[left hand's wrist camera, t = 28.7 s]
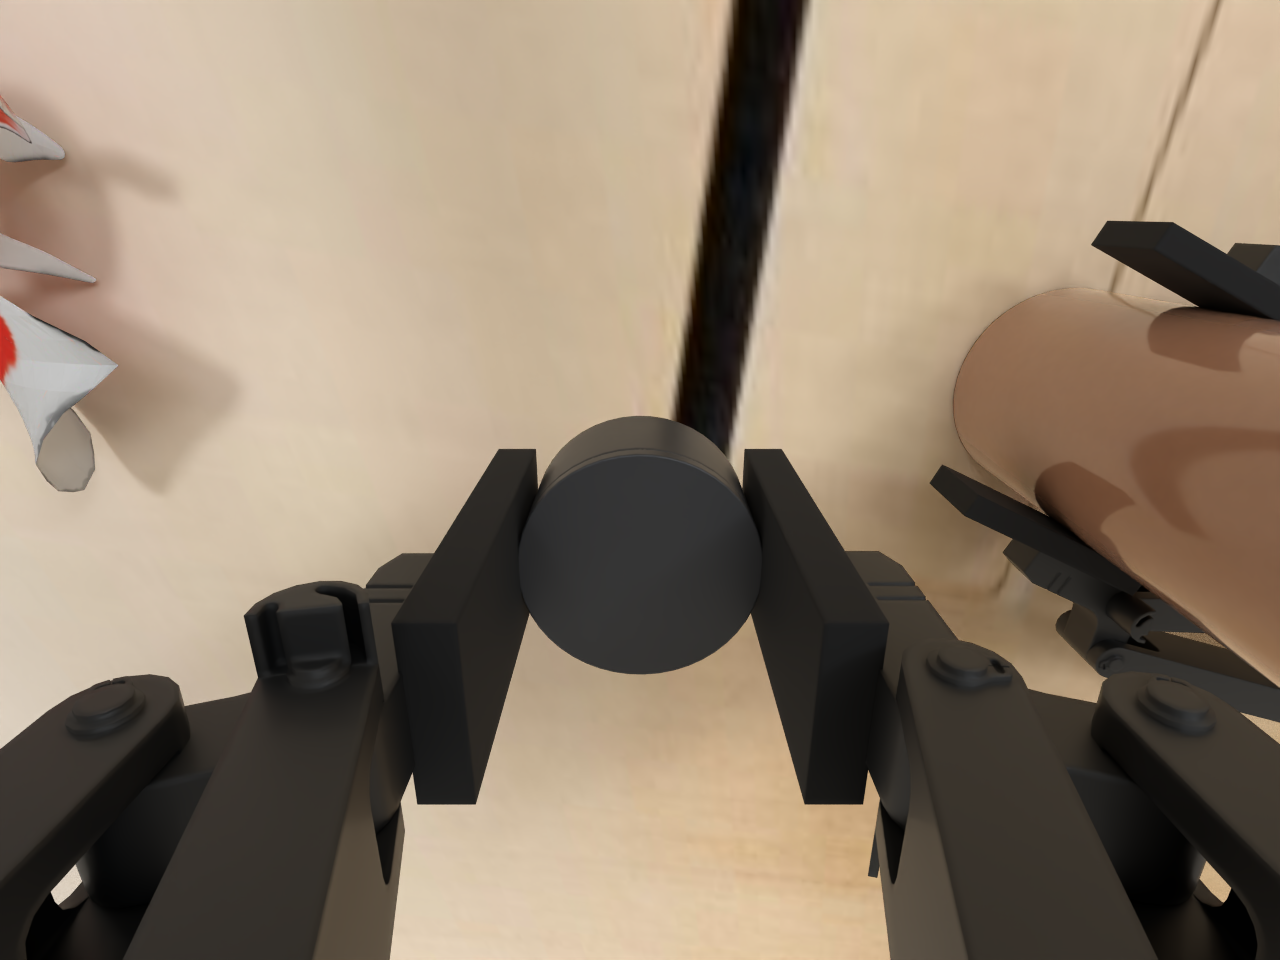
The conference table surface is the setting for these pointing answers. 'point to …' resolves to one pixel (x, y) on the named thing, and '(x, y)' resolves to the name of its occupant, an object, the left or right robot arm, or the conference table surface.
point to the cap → (640, 548)
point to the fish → (45, 342)
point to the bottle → (1144, 446)
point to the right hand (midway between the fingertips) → (1035, 370)
